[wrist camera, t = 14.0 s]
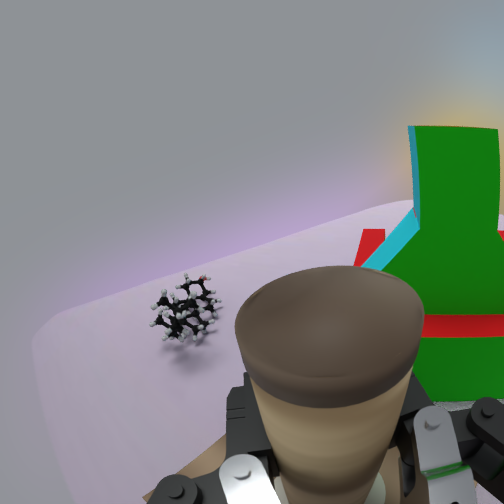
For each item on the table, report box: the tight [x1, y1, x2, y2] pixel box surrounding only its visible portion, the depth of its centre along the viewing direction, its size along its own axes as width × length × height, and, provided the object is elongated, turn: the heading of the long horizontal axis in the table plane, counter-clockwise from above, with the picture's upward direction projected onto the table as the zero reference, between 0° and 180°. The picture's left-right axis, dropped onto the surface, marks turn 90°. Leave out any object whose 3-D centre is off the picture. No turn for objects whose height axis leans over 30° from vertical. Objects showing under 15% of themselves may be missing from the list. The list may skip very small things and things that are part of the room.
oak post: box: [235, 266, 424, 504], centre depth 8 cm, size 4×4×12 cm
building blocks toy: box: [354, 126, 504, 402], centre depth 18 cm, size 19×25×18 cm
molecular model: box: [149, 273, 222, 342], centre depth 30 cm, size 15×6×6 cm, turn 179°
